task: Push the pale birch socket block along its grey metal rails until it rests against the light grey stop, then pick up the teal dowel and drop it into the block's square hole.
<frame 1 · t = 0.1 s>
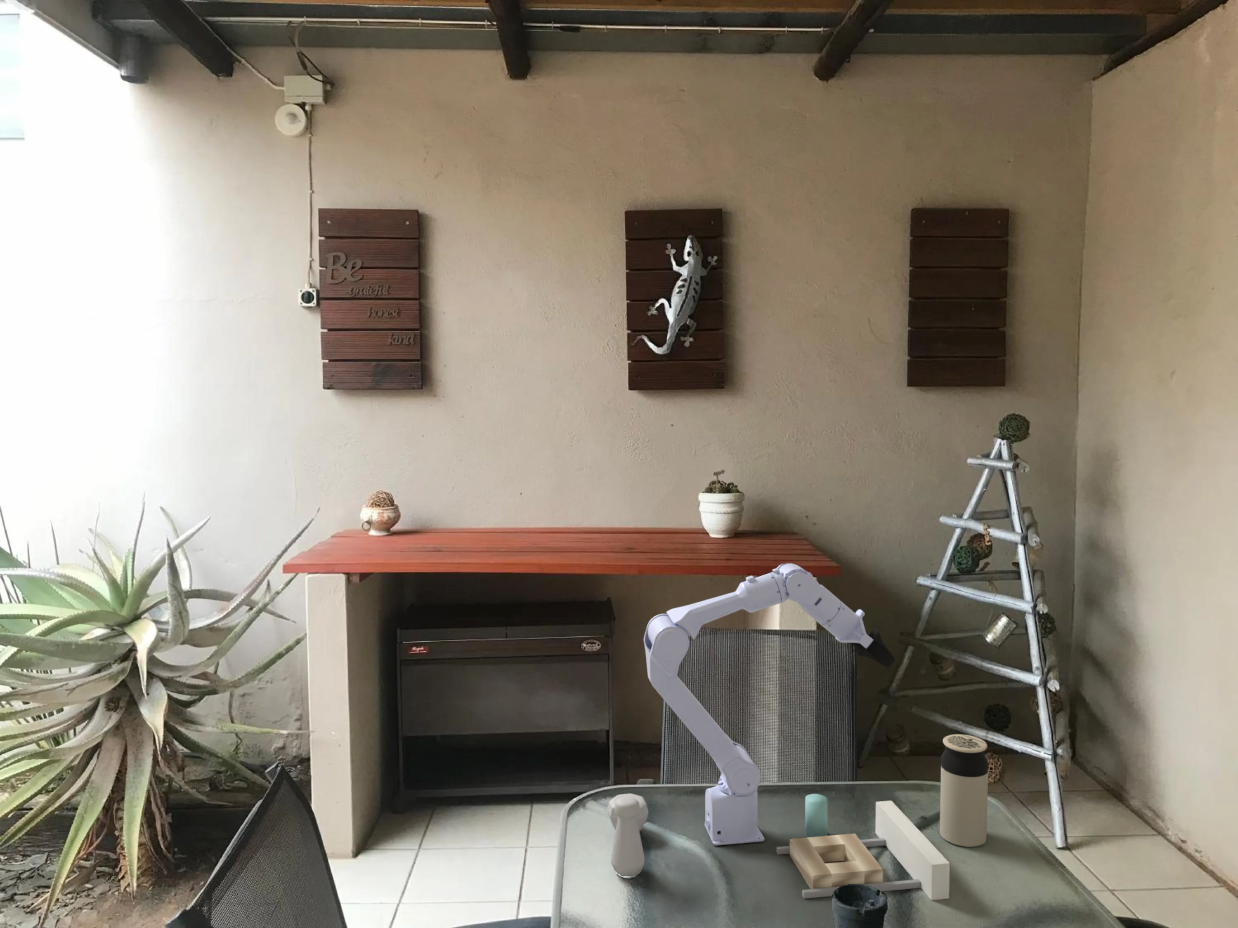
hand: (882, 656, 170), 32 cm above the table, tool tilted 50°, fingers open, 7 cm apart
salt shaker: (628, 873, 157), on the table
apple: (628, 832, 171), on the table
grey stop: (909, 863, 158), on the table
socket block: (834, 861, 156), point 2 cm above the table, slide at 0.0 cm
dowel: (816, 835, 168), on the table
travel mug: (962, 838, 167), on the table
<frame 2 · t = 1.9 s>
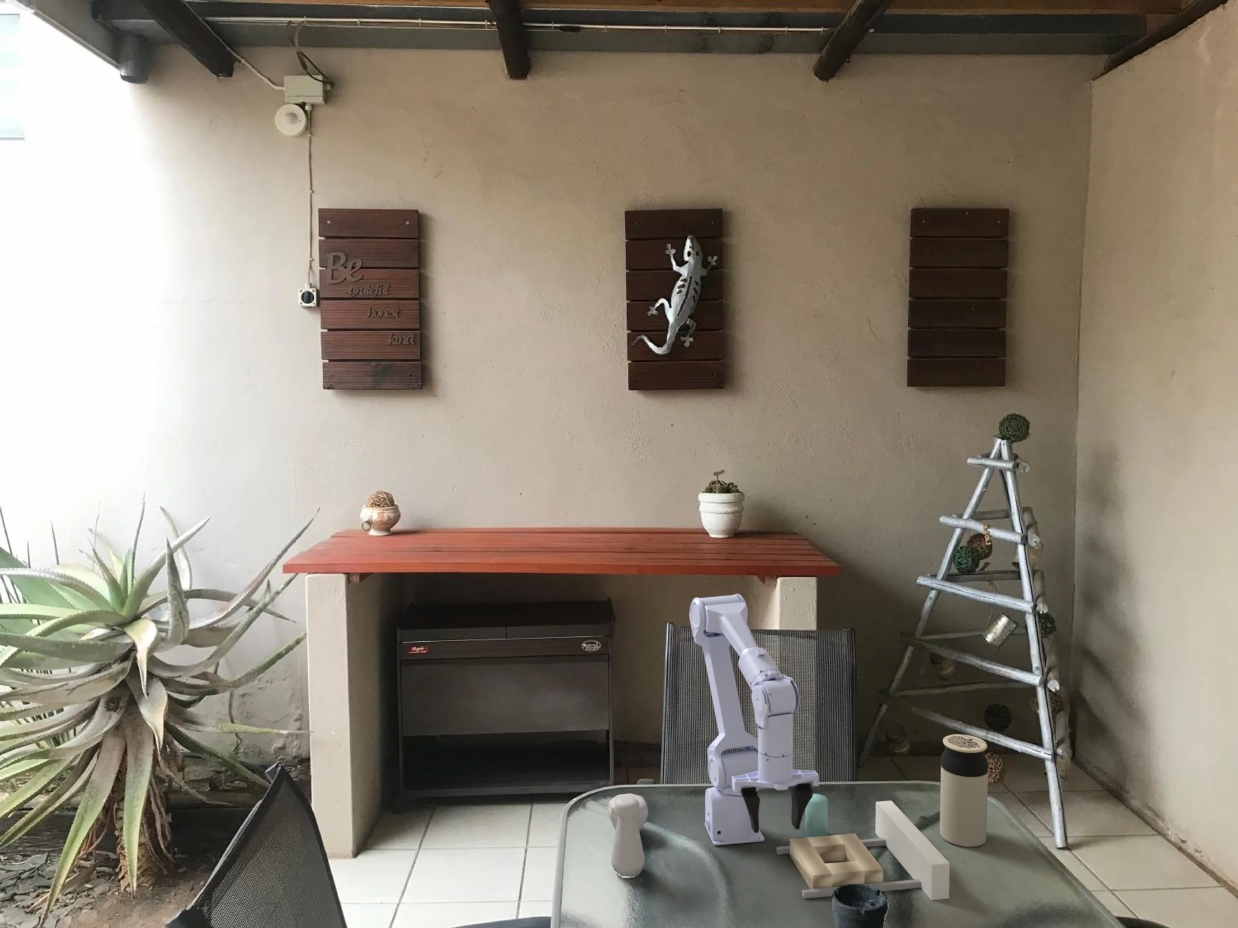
hand: (775, 828, 154), 8 cm above the table, tool pointing down, fingers open, 6 cm apart
nothing on the table moved.
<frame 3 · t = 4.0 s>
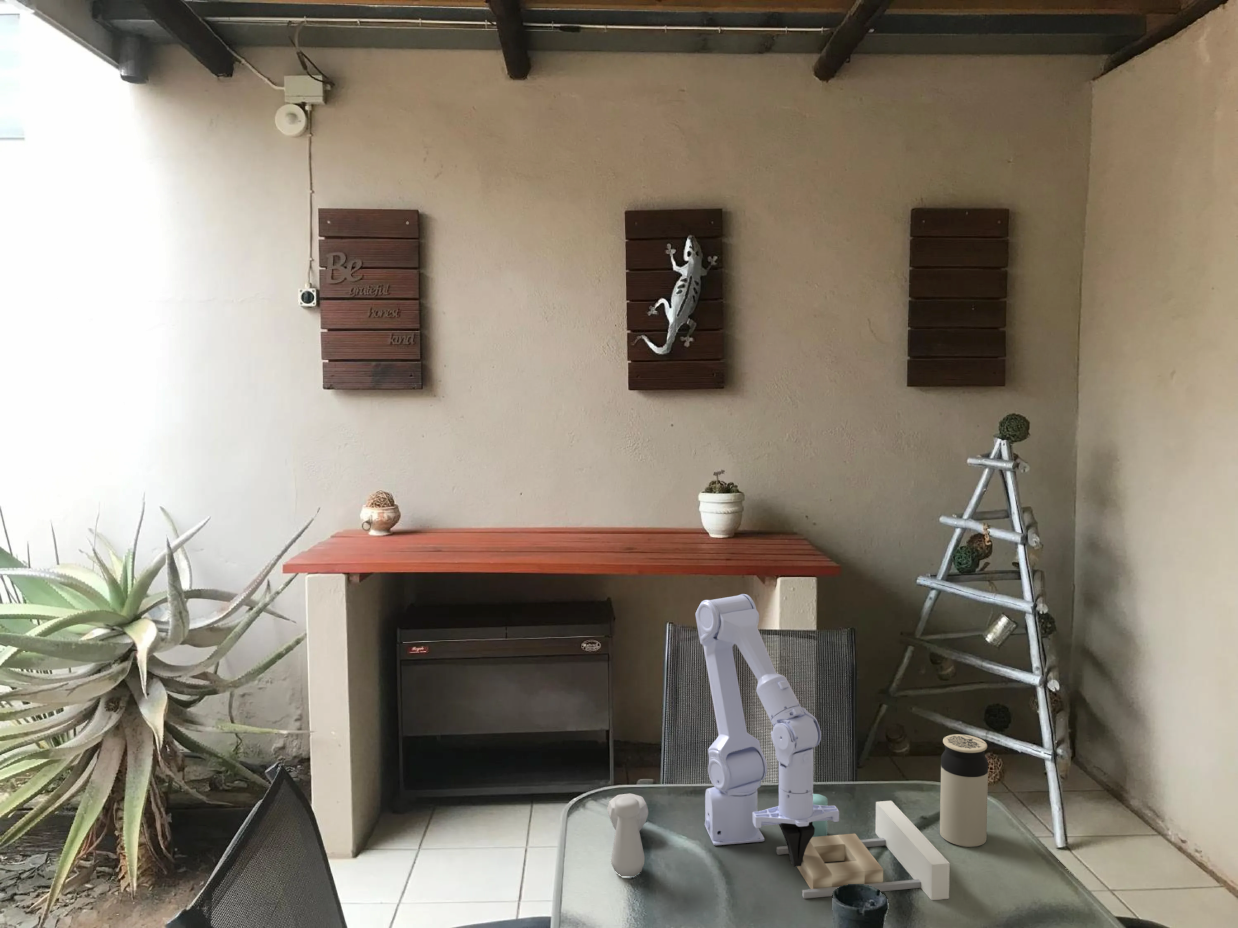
hand: (795, 862, 155), 2 cm above the table, tool pointing down, fingers closed
socket block: (834, 861, 156), point 1 cm above the table, slide at 0.0 cm, touching gripper
everything else where it was.
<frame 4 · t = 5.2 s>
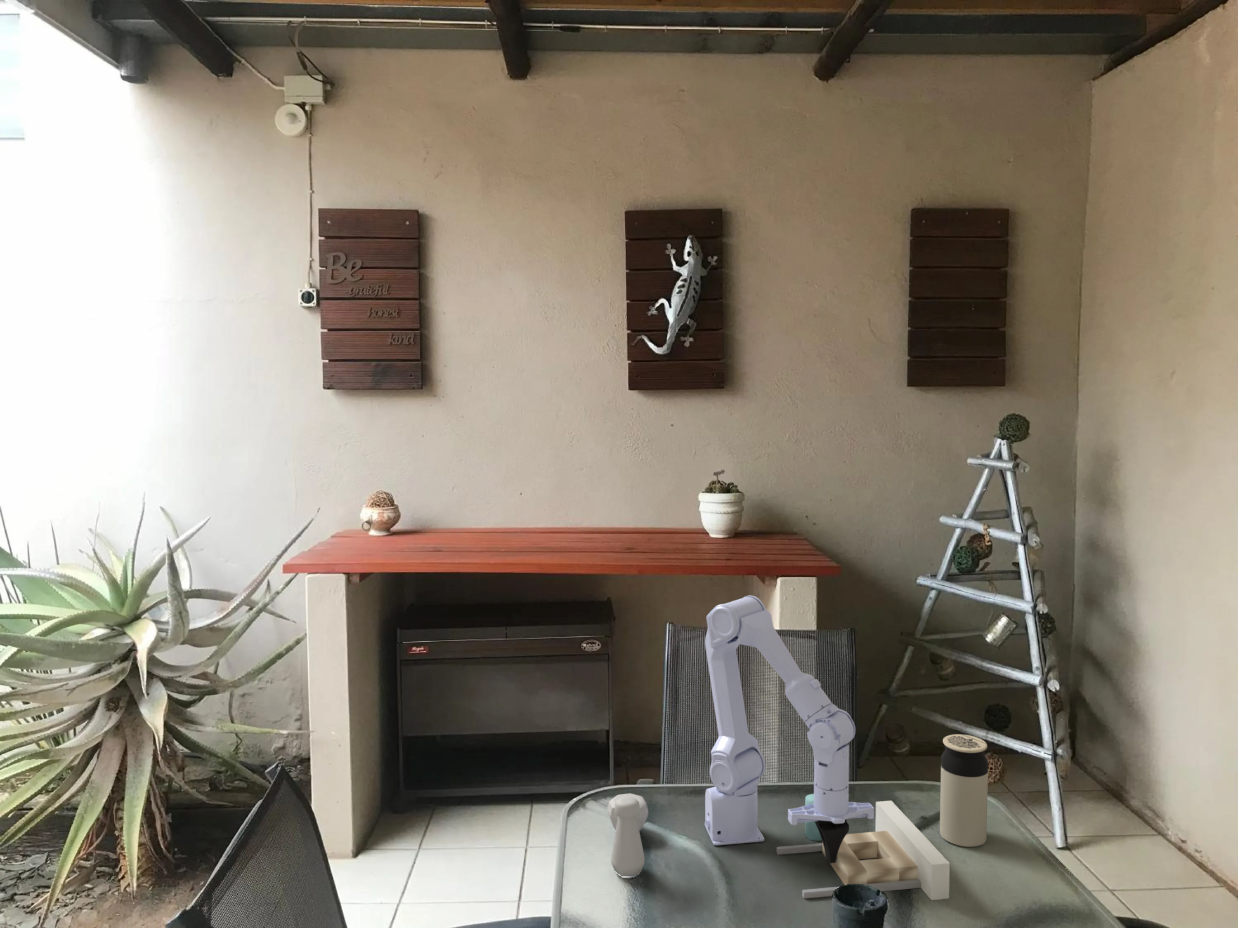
hand: (830, 859, 156), 2 cm above the table, tool pointing down, fingers closed
socket block: (868, 858, 157), point 1 cm above the table, slide at 6.0 cm, touching grey stop, gripper
everything else where it was.
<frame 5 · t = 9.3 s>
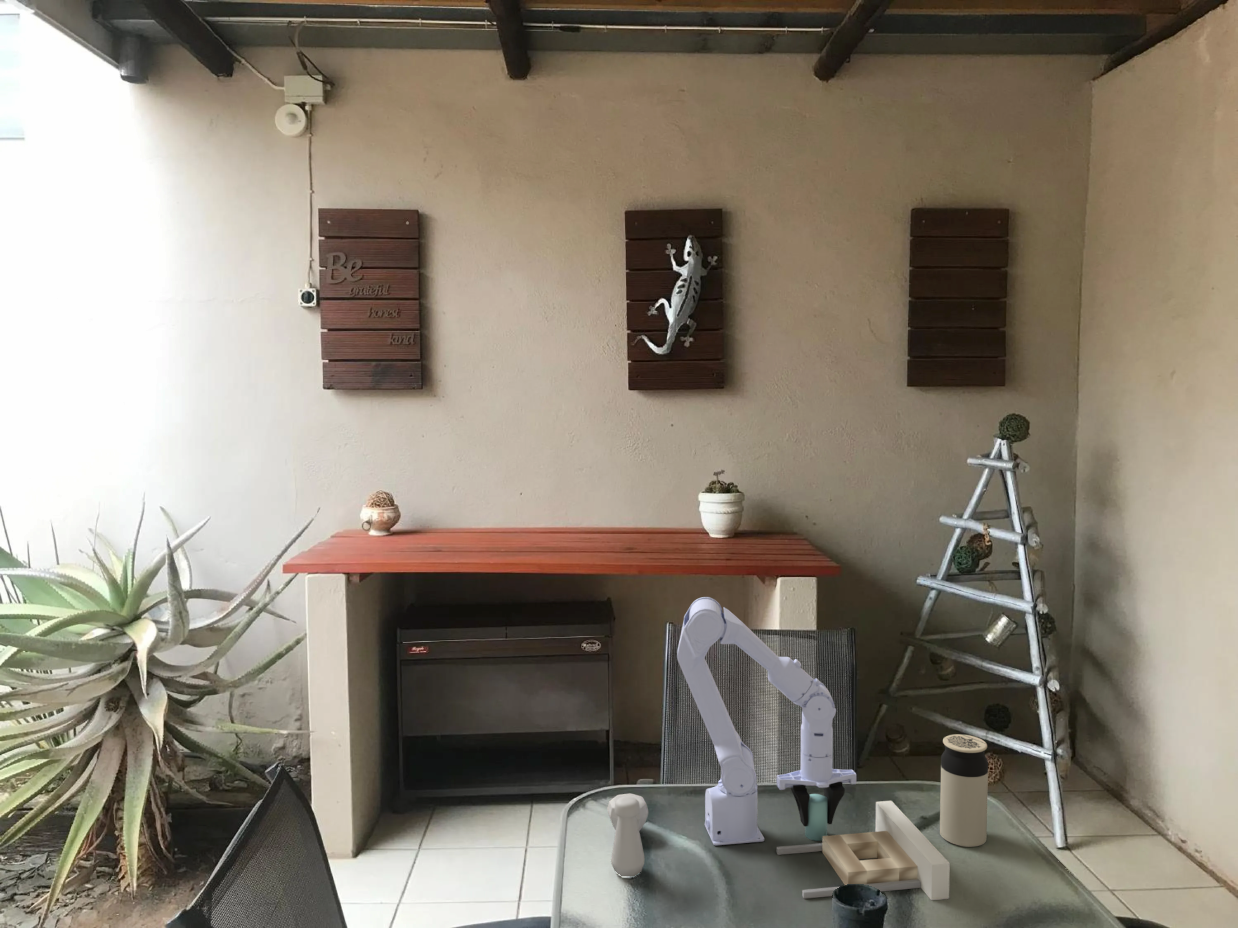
hand: (816, 822, 168), 2 cm above the table, tool pointing down, fingers closed on dowel, 4 cm apart
socket block: (868, 858, 157), point 1 cm above the table, slide at 6.0 cm, touching grey stop
dowel: (816, 835, 168), on the table, touching gripper
everything else where it was.
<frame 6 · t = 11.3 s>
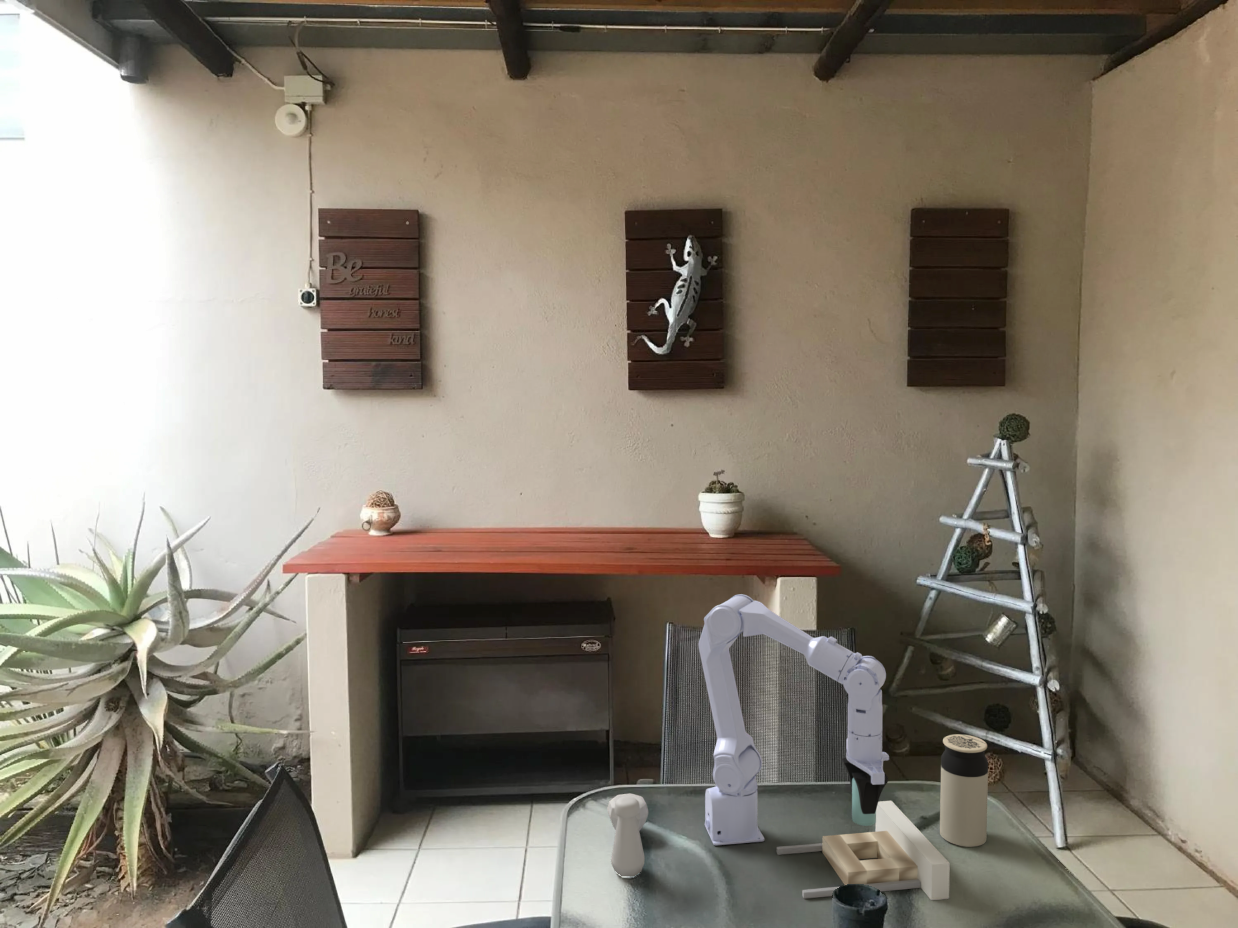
hand: (864, 806, 157), 10 cm above the table, tool pointing down, fingers closed on dowel, 4 cm apart
dowel: (863, 819, 157), point 8 cm above the table, touching gripper
everything else where it was.
when the fingers open (4 cm above the table, at t = 13.3 s): dowel drops 2 cm, resting in socket block.
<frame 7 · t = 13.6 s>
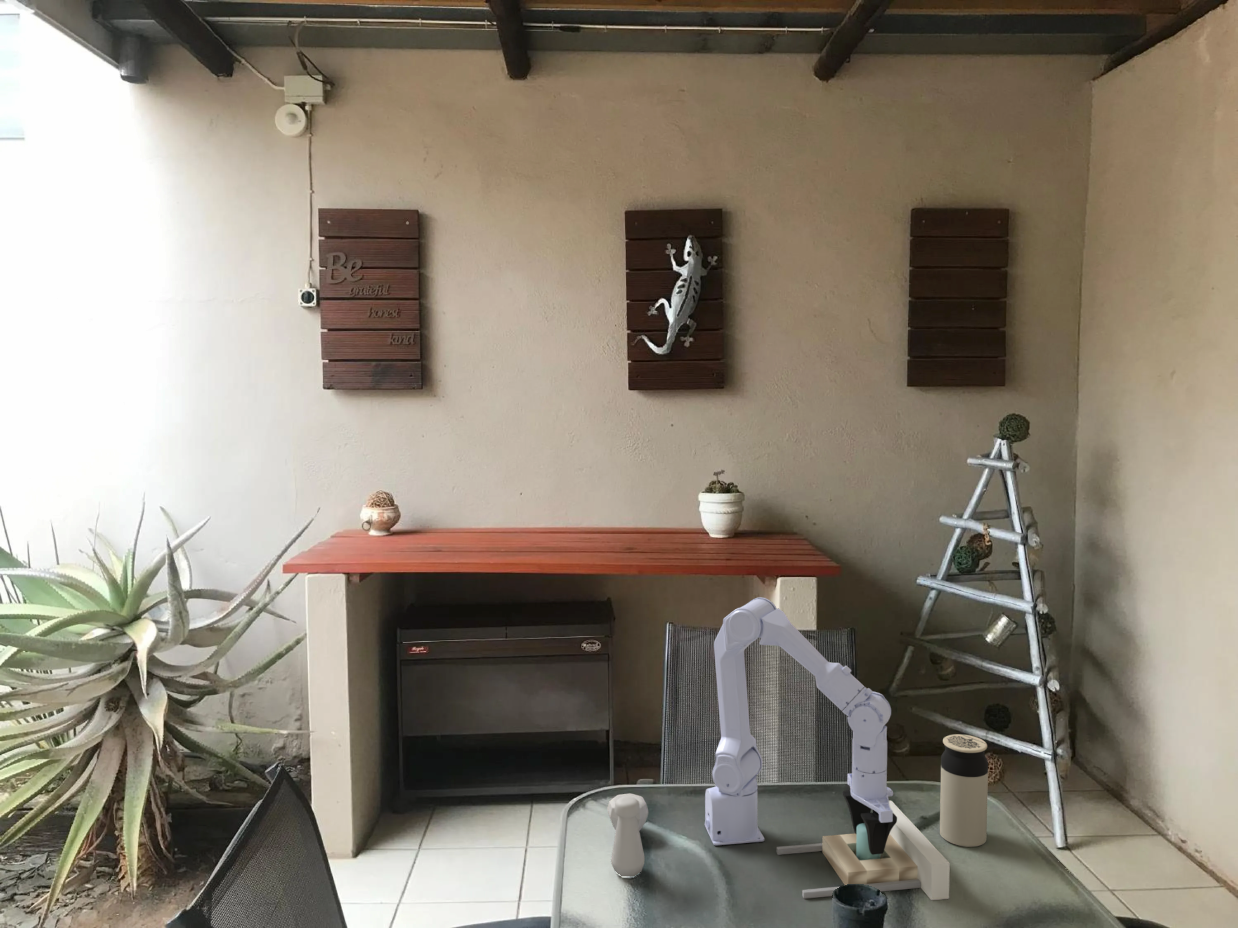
hand: (868, 842, 157), 4 cm above the table, tool pointing down, fingers open, 6 cm apart
dowel: (868, 867, 157), resting in socket block
everything else where it was.
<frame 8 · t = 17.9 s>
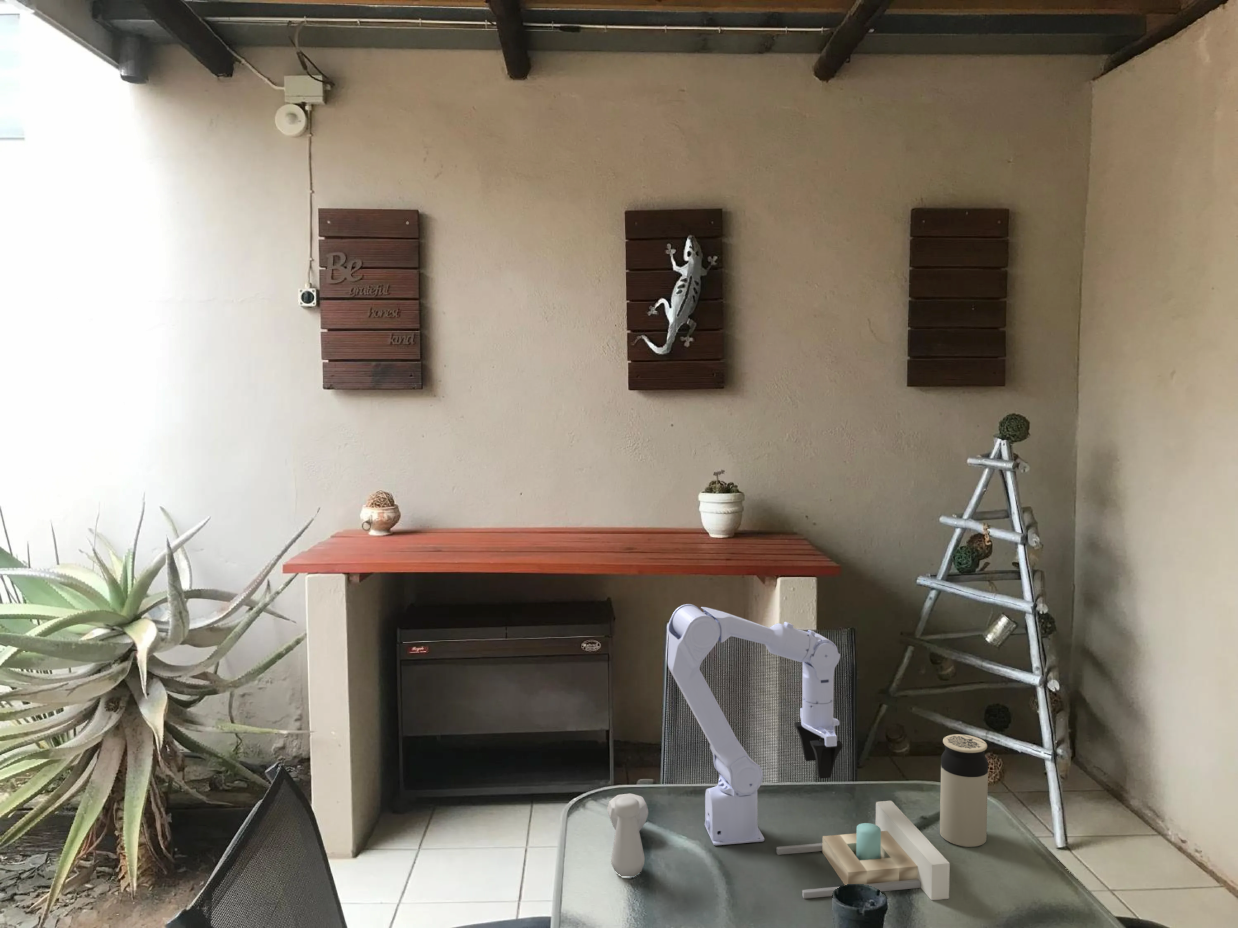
hand: (817, 768, 172), 10 cm above the table, tool pointing down, fingers open, 7 cm apart
nothing on the table moved.
at the end: socket block slide at 6.0 cm; dowel 0.1 cm from the target spot on the grey stop, point 0.0 cm above the grey stop's base; dowel tilted 0° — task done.
